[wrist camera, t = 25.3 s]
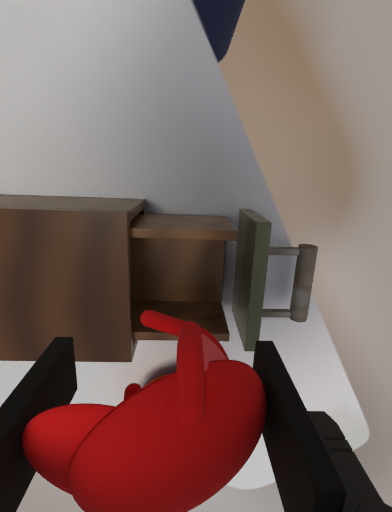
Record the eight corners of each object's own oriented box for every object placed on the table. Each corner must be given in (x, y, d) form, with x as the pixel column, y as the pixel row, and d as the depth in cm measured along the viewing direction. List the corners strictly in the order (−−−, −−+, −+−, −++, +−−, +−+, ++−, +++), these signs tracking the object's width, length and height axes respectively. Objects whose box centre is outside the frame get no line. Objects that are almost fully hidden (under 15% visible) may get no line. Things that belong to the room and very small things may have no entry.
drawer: (296, 210, 31) (332, 224, 23) (283, 311, 34) (311, 352, 27) (108, 204, 30) (82, 216, 23) (113, 308, 34) (92, 349, 26)
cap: (248, 292, 13) (297, 392, 7) (254, 404, 15) (298, 557, 9) (65, 312, 13) (-33, 426, 7) (93, 421, 15) (32, 585, 9)
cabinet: (145, 199, 31) (127, 212, 22) (146, 310, 35) (131, 362, 25) (-10, 194, 31) (-97, 205, 21) (8, 307, 34) (-60, 360, 25)
